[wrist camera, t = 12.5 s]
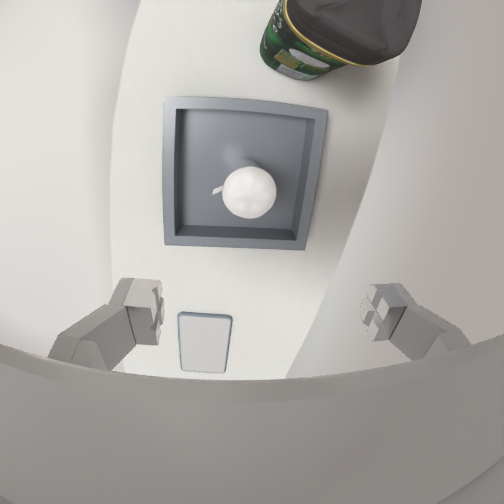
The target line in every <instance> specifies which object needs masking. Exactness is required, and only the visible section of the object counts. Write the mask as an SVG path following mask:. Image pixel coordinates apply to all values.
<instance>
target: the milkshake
mask: <svg viewBox="0 0 504 504" xmlns="http://www.w3.org/2000/svg"><path fill="white" fill-rule="evenodd" d="M220 191H222V197H223V201H224V203H225V205H226V207H227V208H228V209H229V210H230V211H231V212H232V213H233V214H235V215H237V216H239V217H243V218H248V219H252V218H258V217H260V216H262V215H263V214H264V213H266V212H267V211H268V210H269V209H270V208H271V207H272V206H273V204H274V201H275V198H276V185H275V182H274V180H273V178H272V177H271V175H270V174H269V173H267V172H266V171H265V170H263V169H262V168H260V167H259V166H258V165H257V164H256V163H255V162H254V161H253V160H251V159H247V158H240V159H238V160H235V161H234V162H233V164H232V165H231V167H230V168H229V171H228V174H227V178H226V180H225V183H224V185H222V186H220V187H218V188H215V189H213V192H212V195H213V194H216V193H218V192H220Z"/></svg>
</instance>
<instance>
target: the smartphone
mask: <svg viewBox="0 0 504 504" xmlns="http://www.w3.org/2000/svg"><path fill="white" fill-rule="evenodd" d="M231 325H232V318H231V317H230V316H229V315H219V314H204V313H191V312H180V313H179V314H178V337H179V351H180V364H181V369H182V370H183V371H191V372H205V373H224V372H225V371H226V363H227V355H228V348H229V340H230V333H231Z"/></svg>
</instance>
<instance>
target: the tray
mask: <svg viewBox="0 0 504 504" xmlns="http://www.w3.org/2000/svg"><path fill="white" fill-rule="evenodd" d="M327 114H328V110H324V109H318V108H313V107H307V106H300V105H294V104H287V103H279V102H271V101H262V100H251V99H238V98H220V97H165V99H164V117H163V147H162V191H163V223H164V242H165V245H176V246H203V247H231V248H257V249H283V250H305V246H306V241H307V236H308V231H309V226H310V221H311V215H312V210H313V204H314V199H315V193H316V187H317V181H318V175H319V169H320V163H321V157H322V150H323V143H324V136H325V129H326V122H327ZM240 158H247V159H251V160H253V161H254V162H255V163H256V164H257V165H258V166H259V167H260V168H262V169H263V170H265V171H266V172H267V173H269V174H270V175H271V177H272V178H273V180H274V182H275V185H276V198H275V201H274V204H273V206H272V207H271V208H270V209H269V210H268V211H267V212H266V213H264V214H263V215H262V216H260V217H258V218H252V219H248V218H243V217H239V216H237V215H235V214H233V213H232V212H231V211H230V210H229V209H228V208H227V207H226V205H225V203H224V201H223V197H222V191H220V192H218V193H216V194H213V195H212V192H213V189H215V188H218V187H220V186H222V185H224V183H225V180H226V178H227V174H228V171H229V168H230V167H231V165H232V164H233V162H234V161H235V160H238V159H240Z"/></svg>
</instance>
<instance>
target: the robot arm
mask: <svg viewBox="0 0 504 504" xmlns="http://www.w3.org/2000/svg"><path fill="white" fill-rule="evenodd" d="M161 293H162V284H161V281H160V280H149V279H137V278H135V279H134V278H121V279H120V281H119V283H118V285H117V287H116V289H115V291H114V293H113V295H112V297H111V300H110V302H109V304H108V305H103V306H101V307H100V308H98V309H97V310H95V311H94V312H92V313H91V314H89V315H88V316H86V317H84V318H83V319H82V320H80V321H78V322H77V323H75V324H74V325H72V326H71V327H70V328H68V329H67V330H65V331H63V332H62V333H60V334H59V335H58V337H57V339H56V341H55V343H54V345H53V347H52V349H51V351H50V353H49V355H48V357H47V358H46V357H42V356H38V355H34V354H31V353H27V352H24V351H20V350H17V349H14V348H10V347H8V346H4V345H2V344H0V504H504V334H502V335H499V336H497V337H494V338H491V339H488V340H485V341H483V342H480V343H477V344H473V345H471V343H470V342H469V340H468V339H467V338H466V336H465V335H464V334H463V332H462V331H461V330H460V329H459V328H458V327H456V326H454V325H453V324H451V323H450V322H448V321H446V320H445V319H443V318H441V317H439V316H438V315H436V314H434V313H433V312H431V311H429V310H427V309H426V308H424V307H422V306H418V305H417V303H416V302H415V301H414V299H413V298H412V297H411V296H410V294H409V293H408V292H407V290H406V289H405V288H404V287H403V285H402V284H400V283H391V284H371V285H369V287H368V288H367V290H366V295H367V297H366V298H365V299H364V300H363V301H362V303H361V306H360V317H361V320H362V322H363V323H364V324H366V325H367V326H368V328H367V331H368V333H369V335H370V337H371V339H372V341H382V340H389V341H390V342H391V343H393V345H395V346H396V347H397V348H398V349H399V350H400V351H402V352H403V353H404V354H405V355H406V356H407V357H409V358H410V359H411V360H412V361H411V362H406V363H402V364H397V365H392V366H387V367H381V368H375V369H370V370H363V371H356V372H349V373H341V374H334V375H325V376H314V377H303V378H290V379H270V380H200V379H181V378H168V377H156V376H146V375H138V374H130V373H122V372H115V371H111V370H112V369H113V368H114V367H115V366H116V365H117V364H118V363H119V362H120V361H121V360H122V359H123V358H124V357H125V356H126V355H127V354H128V353H129V352H130V351H131V350H132V349H133V348H134V347H135V346H136V344H143V345H158V343H159V338H160V334H161V330H160V325H161V324H163V319H164V299H163V298H162V297H161Z"/></svg>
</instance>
